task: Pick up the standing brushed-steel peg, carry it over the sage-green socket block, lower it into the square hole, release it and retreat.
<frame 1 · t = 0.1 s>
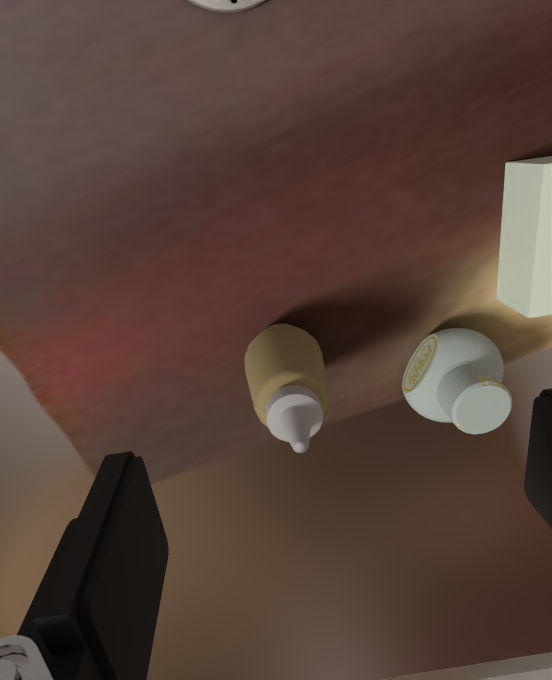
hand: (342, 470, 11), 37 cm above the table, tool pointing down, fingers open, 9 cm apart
air freshener: (439, 363, 52), on the table
squeeze bottle: (280, 346, 50), on the table
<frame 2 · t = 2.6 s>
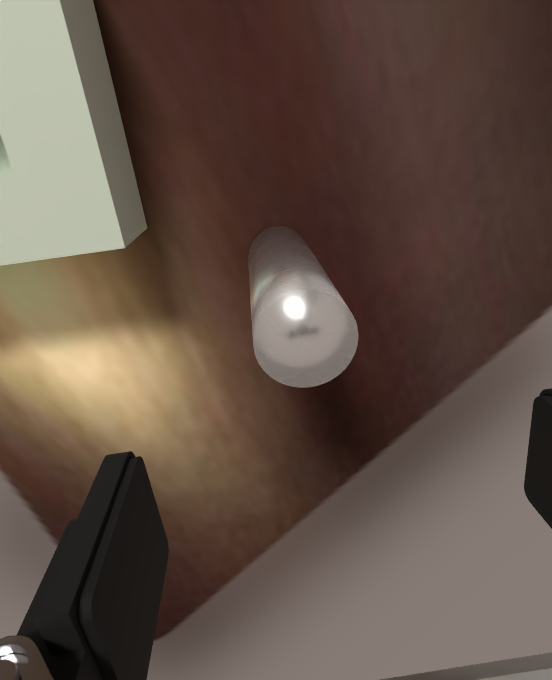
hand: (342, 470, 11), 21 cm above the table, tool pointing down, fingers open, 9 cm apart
steel peg: (278, 256, 30), on the table
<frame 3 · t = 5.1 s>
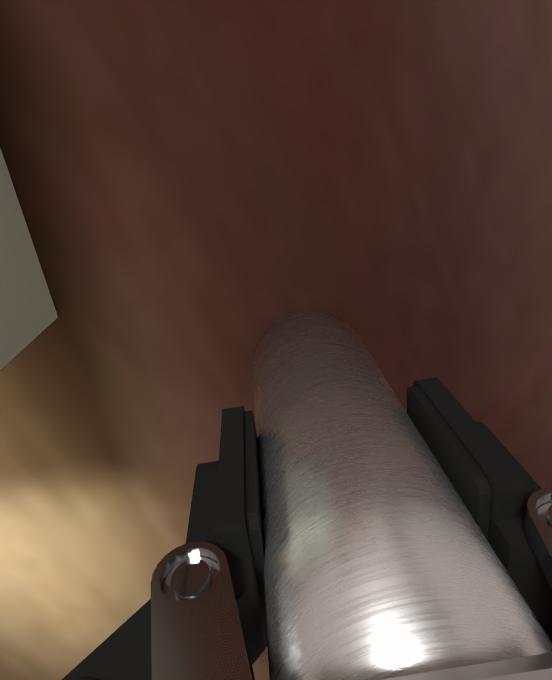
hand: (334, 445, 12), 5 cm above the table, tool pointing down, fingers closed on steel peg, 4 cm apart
steel peg: (308, 363, 16), on the table, touching gripper
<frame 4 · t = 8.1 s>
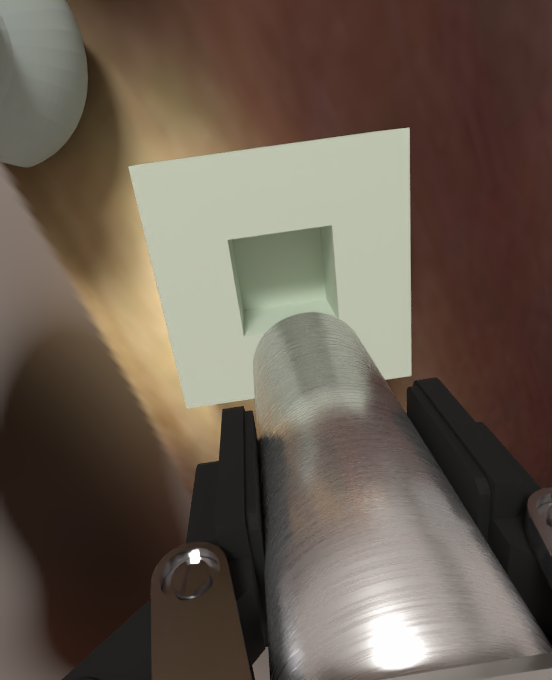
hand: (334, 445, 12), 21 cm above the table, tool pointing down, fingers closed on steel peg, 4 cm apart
air freshener: (3, 66, 25), on the table
steel peg: (308, 365, 16), point 16 cm above the table, touching gripper
socket block: (278, 258, 31), on the table
when the fingers open (7 cm above the table, at t = 11.3 s): steel peg stays where it is, resting on socket block.
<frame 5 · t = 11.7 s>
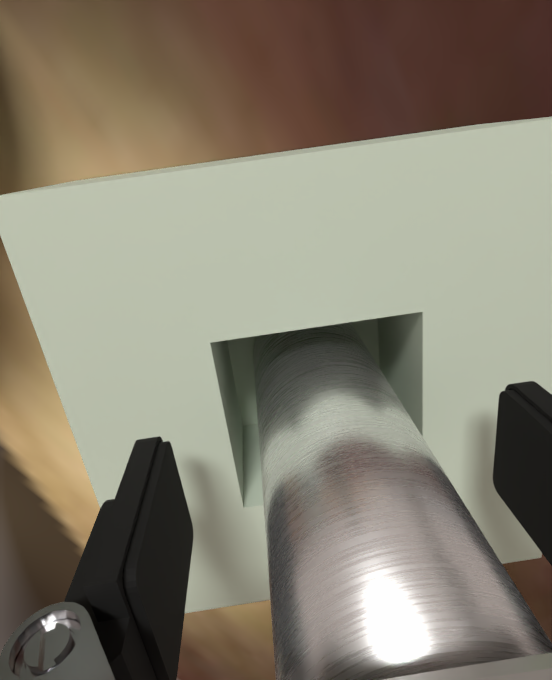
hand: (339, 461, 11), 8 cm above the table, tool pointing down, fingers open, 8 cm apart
steel peg: (306, 352, 17), point 2 cm above the table, touching socket block
socket block: (300, 337, 18), on the table
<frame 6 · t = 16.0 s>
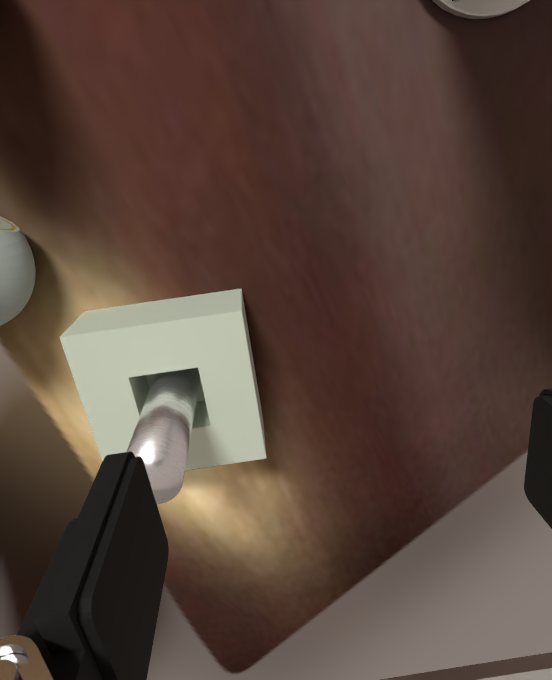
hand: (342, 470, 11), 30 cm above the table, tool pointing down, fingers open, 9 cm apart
steel peg: (178, 377, 41), point 2 cm above the table, touching socket block
socket block: (179, 369, 43), on the table
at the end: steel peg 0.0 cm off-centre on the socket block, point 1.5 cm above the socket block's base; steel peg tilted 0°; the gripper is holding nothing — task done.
